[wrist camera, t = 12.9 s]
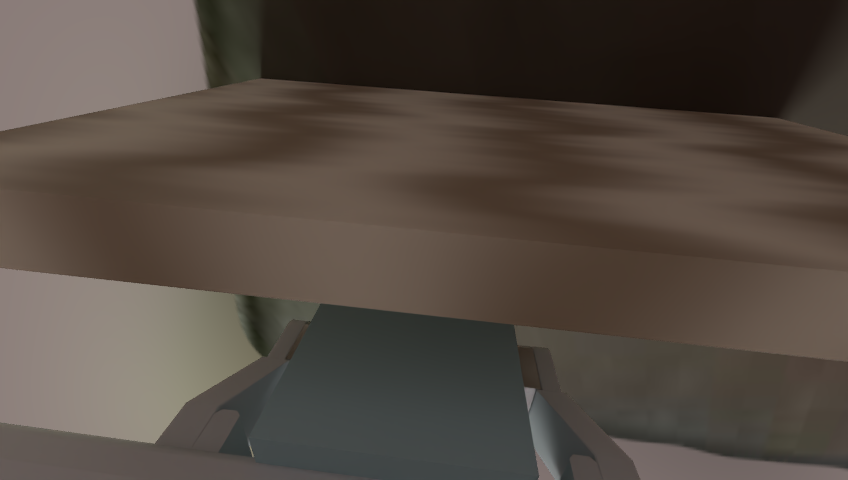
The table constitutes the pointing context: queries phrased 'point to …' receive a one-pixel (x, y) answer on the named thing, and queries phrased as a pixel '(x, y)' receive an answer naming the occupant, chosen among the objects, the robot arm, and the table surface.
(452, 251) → the cleat board
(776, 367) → the table surface
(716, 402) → the table surface
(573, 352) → the table surface
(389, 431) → the cabinet block
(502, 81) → the table surface
